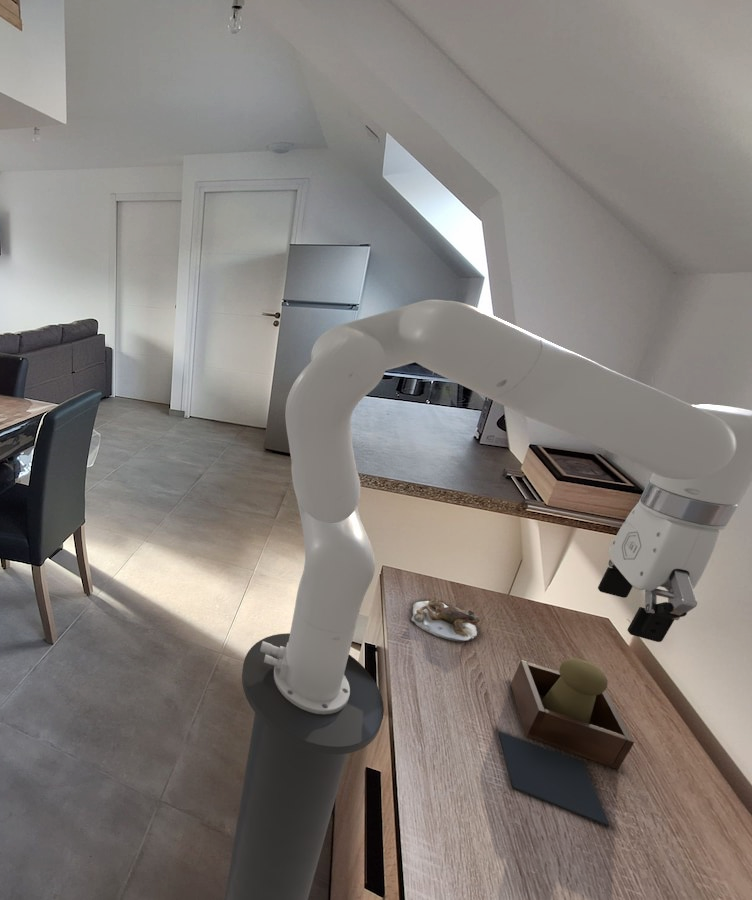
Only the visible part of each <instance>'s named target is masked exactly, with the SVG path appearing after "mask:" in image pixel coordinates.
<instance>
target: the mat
mask: <svg viewBox="0 0 752 900" xmlns="http://www.w3.org/2000/svg"><path fill="white" fill-rule="evenodd" d="M498 735H499V739H500V744H501V747H502V751H503V755H504V759H505V763H506V767H507V771H508V774H509V779H510V784H511V787H512V789H514V790H516V791H519V792H521V793H523V794H525V795H528V796H531V797H533V798H536V799H539V800H541V801H543V802H546V803H549V804H551V805H554V806H555V807H558V808H561V809H563V810H566V811H568V812H571V813H573V814H576V815H578V816H581V817H583V818H586V819H589V820H591V821H593V822H595V823H598V824H601V825H604V826H606V827H610V822H609V820H608V818H607V815H606V813H605V811H604V808H603V806H602V804H601V803H602V802H601V801H600V798H599V796H598V794H597V791H596V789H595V787H594V784H593V781H592V779H591V777H590V774H589V772H588V770H587V767H586V765H585V763H584V761H581V760H579V759H576V758H573V757H571V756H568V755H565V754H562V753H560V752H558V751H554V750H551V749H549V748H547V747H543V746H540V745H537V744H535V743H533V742H530V741H527V740H524V739H522V738H519V737H516V736H513V735H510V734H507V733H504V732H502V731H498Z"/></svg>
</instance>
